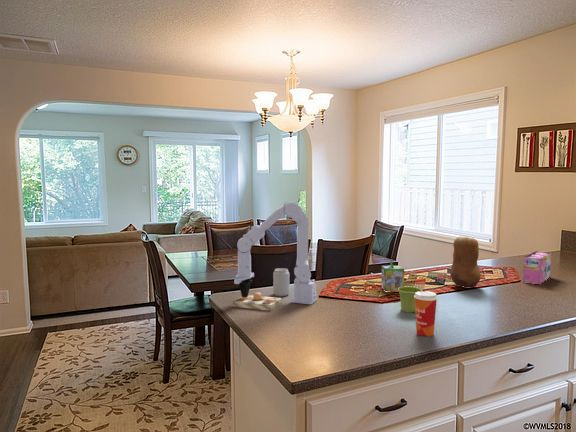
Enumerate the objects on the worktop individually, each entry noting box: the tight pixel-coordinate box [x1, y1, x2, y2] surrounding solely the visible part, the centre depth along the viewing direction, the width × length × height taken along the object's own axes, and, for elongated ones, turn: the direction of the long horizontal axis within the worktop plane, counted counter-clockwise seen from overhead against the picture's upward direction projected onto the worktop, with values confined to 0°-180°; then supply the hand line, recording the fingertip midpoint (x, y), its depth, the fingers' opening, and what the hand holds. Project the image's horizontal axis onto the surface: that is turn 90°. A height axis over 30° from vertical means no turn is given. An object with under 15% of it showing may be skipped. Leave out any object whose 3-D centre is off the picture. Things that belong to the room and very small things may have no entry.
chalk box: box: [380, 259, 405, 291], centre depth 201 cm, size 9×9×15 cm
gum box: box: [522, 251, 552, 285], centre depth 221 cm, size 24×8×14 cm, turn 136°
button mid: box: [252, 291, 262, 301], centre depth 180 cm, size 3×3×3 cm
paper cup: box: [414, 290, 438, 337], centre depth 145 cm, size 8×8×14 cm
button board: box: [232, 294, 283, 312], centre depth 180 cm, size 18×11×3 cm, turn 68°
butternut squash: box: [449, 236, 482, 288], centre depth 206 cm, size 14×13×25 cm
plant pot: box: [398, 286, 423, 313], centre depth 171 cm, size 9×9×9 cm
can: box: [272, 267, 290, 297], centre depth 196 cm, size 8×8×12 cm
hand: (244, 296), depth 182 cm, fingers closed, pressing on button far
